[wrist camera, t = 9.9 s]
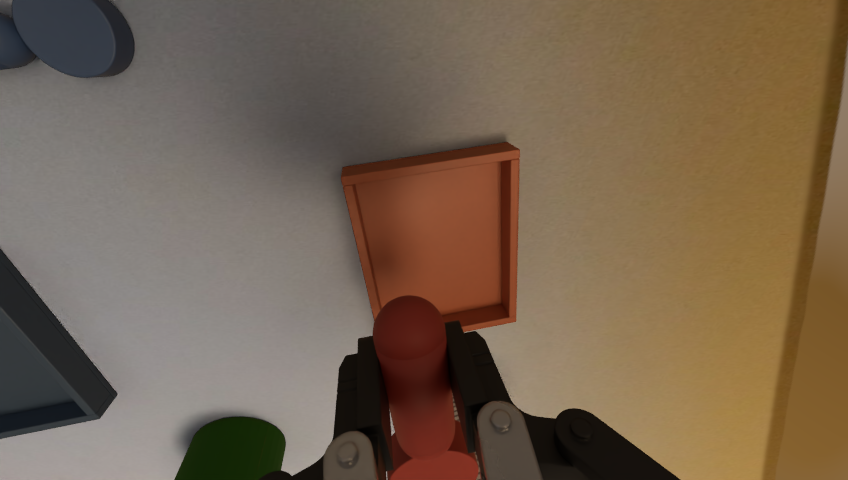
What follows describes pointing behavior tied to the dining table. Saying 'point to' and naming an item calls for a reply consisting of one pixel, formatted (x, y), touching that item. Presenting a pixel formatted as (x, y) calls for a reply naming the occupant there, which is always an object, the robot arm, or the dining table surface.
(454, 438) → the red spoon
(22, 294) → the dark grey tray
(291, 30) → the dining table surface
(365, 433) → the robot arm
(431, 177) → the red tray
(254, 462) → the candle
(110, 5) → the blue spoon
